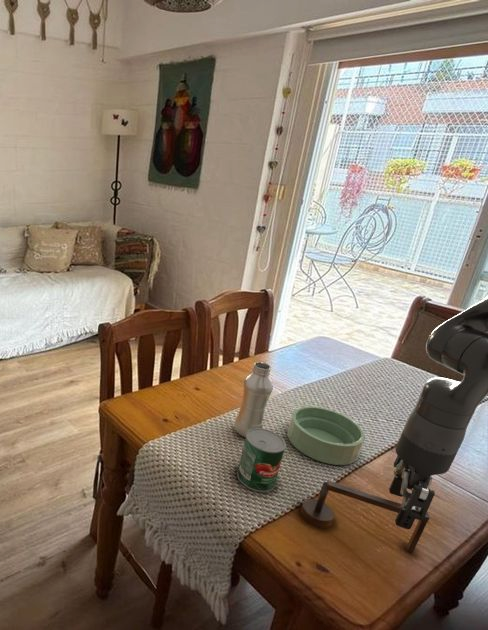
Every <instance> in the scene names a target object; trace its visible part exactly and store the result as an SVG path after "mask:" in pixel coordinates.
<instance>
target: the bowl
mask: <svg viewBox="0 0 488 630" xmlns="http://www.w3.org/2000/svg"><path fill="white" fill-rule="evenodd" d="M286 434H287V438H288V440H289V442H290V444H292V446H293V447H294V448H295V449H296V450H298V451H299V452H300V453H302V454H304V455H305V456H307V457H309V458H311V459H313V460H316V461H318V462H321V463H325V464H328V465H335V466H347V465H351V464H353V463H355V462H357V459H358V458H359V457H360V454H361V450H362V448H363V445H364V442H365V441H366V435H365V434H366V433H365V431H364V430H363V428H362V427H361V426H360V424H358V423H357V422H356V421H354V420H353V419H352V418H350V417H349V416H347V415H345V414H343V413H341V412H338V411H336V410H334V409H330V408H326V407H322V406H314V405H306V406H300V407H297V408H295V410H293V412H292V413H291V417H290V421H289V424H288V428H287V433H286Z"/></svg>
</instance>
